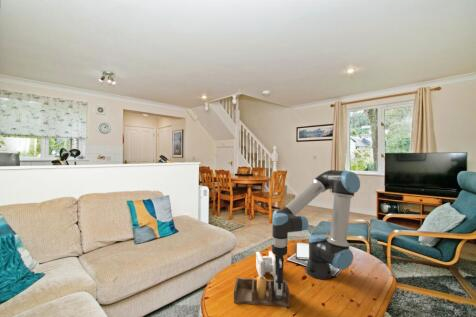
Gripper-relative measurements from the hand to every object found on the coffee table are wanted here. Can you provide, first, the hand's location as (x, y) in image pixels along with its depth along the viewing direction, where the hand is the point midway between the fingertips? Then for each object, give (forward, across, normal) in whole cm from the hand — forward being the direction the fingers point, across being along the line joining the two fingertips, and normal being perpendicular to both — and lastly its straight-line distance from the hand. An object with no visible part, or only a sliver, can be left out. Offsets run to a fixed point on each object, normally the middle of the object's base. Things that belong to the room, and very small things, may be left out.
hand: (278, 291), depth 110 cm
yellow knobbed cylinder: (+3, 0, -9) cm, 9 cm away
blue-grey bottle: (+2, 0, 0) cm, 2 cm away
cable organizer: (+4, -25, -6) cm, 26 cm away
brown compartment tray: (+4, -2, -8) cm, 10 cm away
